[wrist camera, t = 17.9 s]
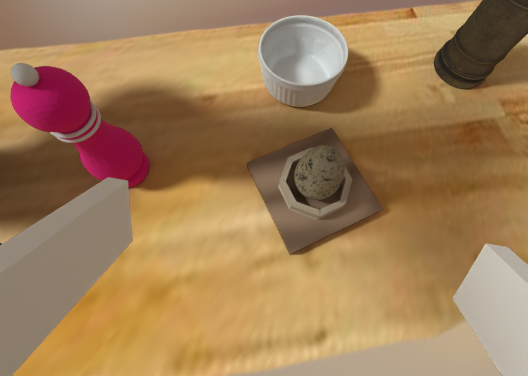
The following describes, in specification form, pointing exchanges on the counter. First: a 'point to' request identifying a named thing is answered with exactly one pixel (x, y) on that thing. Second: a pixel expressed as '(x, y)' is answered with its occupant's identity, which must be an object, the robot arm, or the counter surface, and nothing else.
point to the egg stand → (305, 209)
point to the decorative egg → (320, 172)
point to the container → (482, 42)
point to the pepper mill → (76, 122)
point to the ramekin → (301, 59)
